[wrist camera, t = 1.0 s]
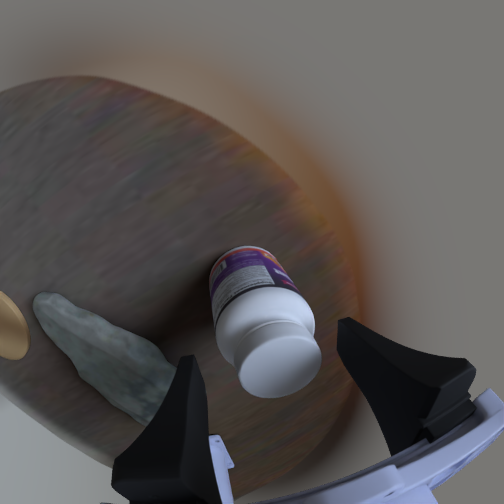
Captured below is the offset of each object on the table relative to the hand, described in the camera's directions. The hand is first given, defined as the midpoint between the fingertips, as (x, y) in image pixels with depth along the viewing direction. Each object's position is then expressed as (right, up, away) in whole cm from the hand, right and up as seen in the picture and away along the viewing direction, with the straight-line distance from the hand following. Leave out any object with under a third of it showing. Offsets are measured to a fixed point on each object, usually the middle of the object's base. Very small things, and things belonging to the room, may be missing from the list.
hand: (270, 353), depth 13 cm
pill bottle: (-1, +3, +8) cm, 9 cm away
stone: (-12, -4, +9) cm, 15 cm away
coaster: (-25, -2, +5) cm, 25 cm away
